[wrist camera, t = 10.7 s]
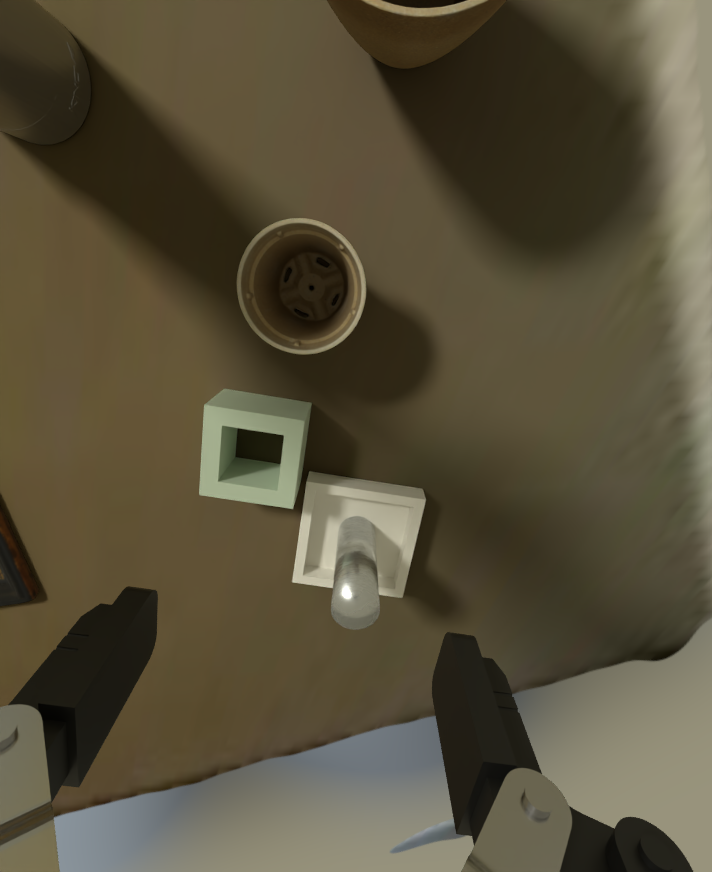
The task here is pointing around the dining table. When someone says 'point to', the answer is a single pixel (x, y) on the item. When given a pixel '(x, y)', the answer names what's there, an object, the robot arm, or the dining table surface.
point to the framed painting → (13, 569)
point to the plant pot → (412, 26)
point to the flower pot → (301, 286)
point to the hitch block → (245, 475)
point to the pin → (355, 575)
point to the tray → (376, 501)
